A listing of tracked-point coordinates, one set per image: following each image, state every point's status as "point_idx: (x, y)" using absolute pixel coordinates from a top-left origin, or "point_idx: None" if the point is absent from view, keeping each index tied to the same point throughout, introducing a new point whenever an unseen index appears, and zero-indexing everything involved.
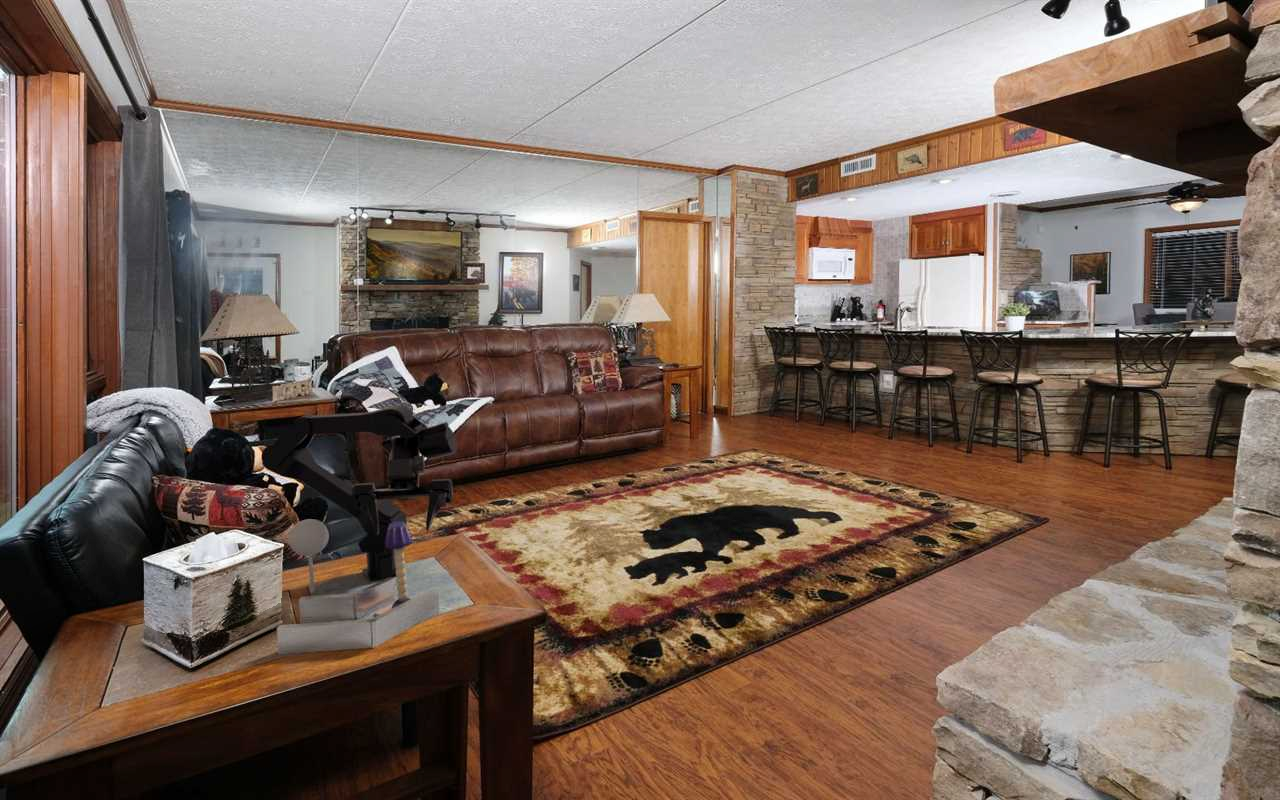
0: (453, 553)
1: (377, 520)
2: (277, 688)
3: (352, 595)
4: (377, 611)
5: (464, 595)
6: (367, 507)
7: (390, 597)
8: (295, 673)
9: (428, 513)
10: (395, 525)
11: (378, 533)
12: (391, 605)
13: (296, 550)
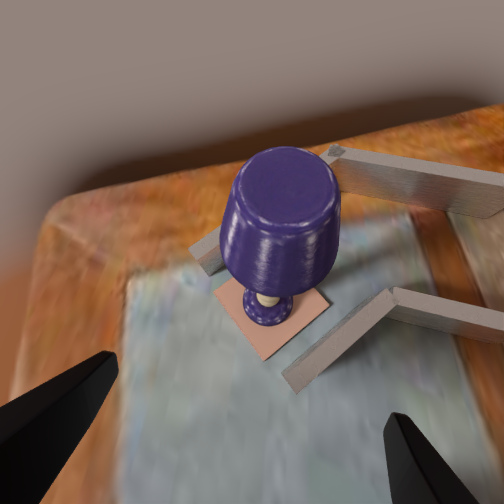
0: None
1: (438, 502)
2: (449, 117)
3: (395, 291)
4: (323, 310)
5: (130, 331)
6: None
7: (294, 362)
8: (435, 144)
9: (9, 425)
10: (296, 158)
11: (385, 439)
12: (292, 330)
13: None
